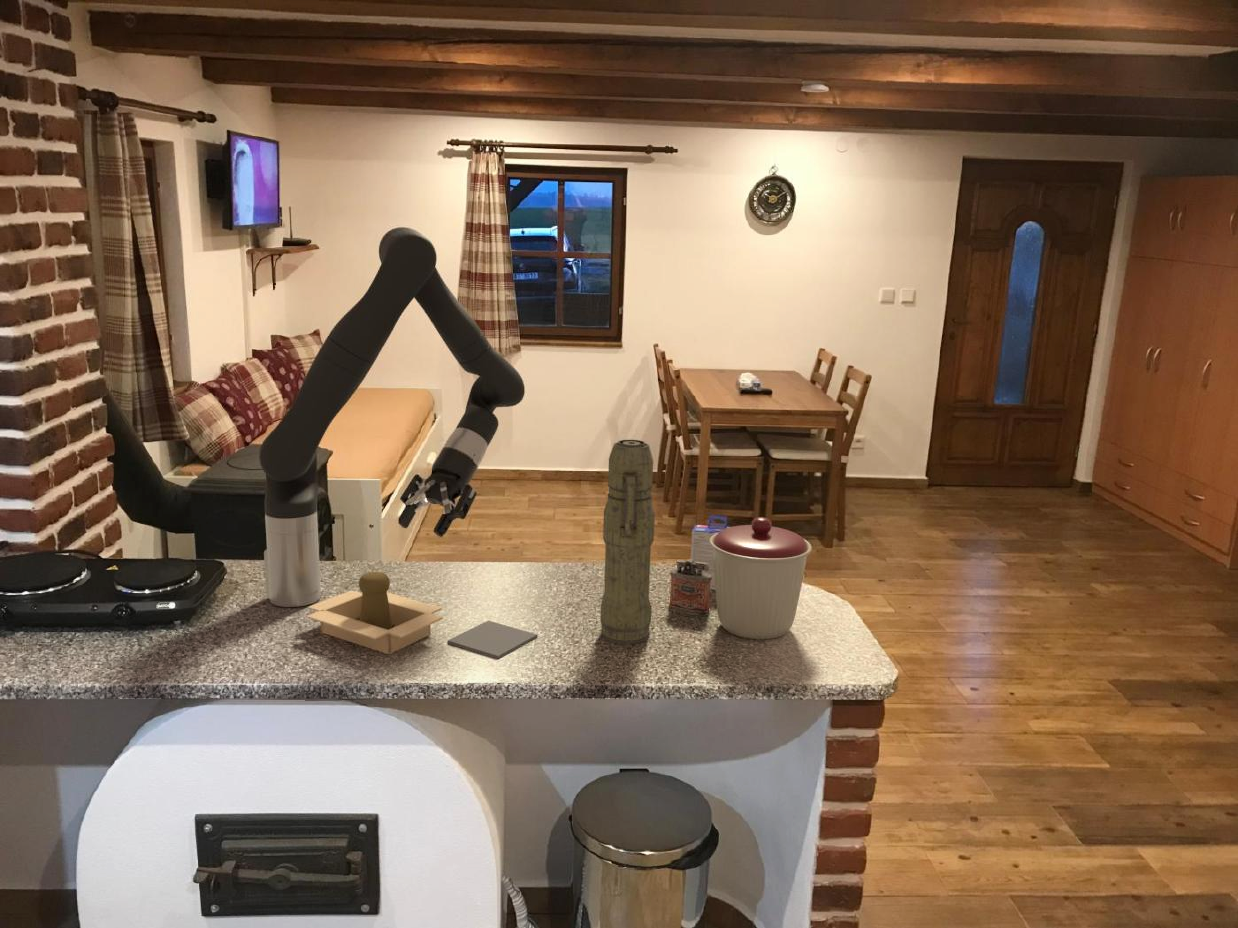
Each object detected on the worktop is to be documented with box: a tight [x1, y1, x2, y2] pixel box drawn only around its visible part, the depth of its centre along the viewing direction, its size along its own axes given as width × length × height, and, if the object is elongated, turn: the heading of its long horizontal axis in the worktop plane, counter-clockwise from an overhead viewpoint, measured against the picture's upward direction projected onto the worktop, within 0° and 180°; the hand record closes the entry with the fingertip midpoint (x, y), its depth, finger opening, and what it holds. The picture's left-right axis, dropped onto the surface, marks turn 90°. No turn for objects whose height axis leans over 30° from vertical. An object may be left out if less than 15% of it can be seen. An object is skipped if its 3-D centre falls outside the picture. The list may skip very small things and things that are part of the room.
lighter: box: [668, 558, 712, 616], centre depth 185 cm, size 8×3×10 cm, turn 68°
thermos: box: [599, 439, 656, 645], centre depth 170 cm, size 9×12×35 cm
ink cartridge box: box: [690, 514, 731, 591], centre depth 198 cm, size 10×6×14 cm, turn 78°
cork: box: [358, 571, 394, 630], centre depth 170 cm, size 6×6×11 cm
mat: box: [447, 620, 538, 660], centre depth 170 cm, size 11×11×1 cm
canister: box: [710, 516, 813, 640], centre depth 176 cm, size 18×18×21 cm
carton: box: [305, 589, 444, 655], centre depth 171 cm, size 22×16×4 cm
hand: (419, 530), depth 177 cm, fingers open, 8 cm apart
